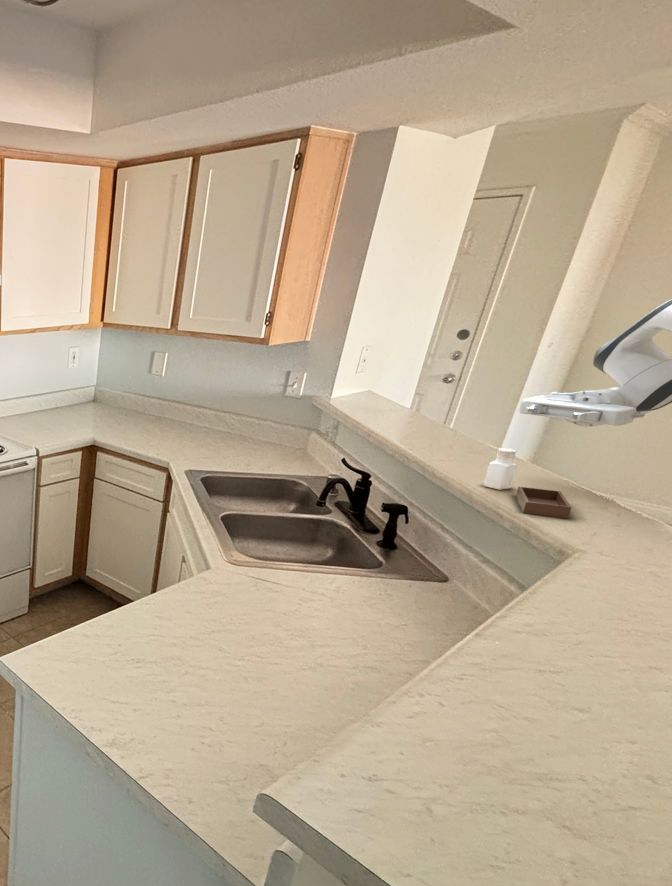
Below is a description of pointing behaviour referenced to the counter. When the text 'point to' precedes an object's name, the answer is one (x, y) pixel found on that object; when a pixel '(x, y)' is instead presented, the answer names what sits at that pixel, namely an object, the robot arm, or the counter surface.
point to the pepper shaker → (501, 470)
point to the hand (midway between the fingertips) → (551, 414)
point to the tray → (543, 502)
